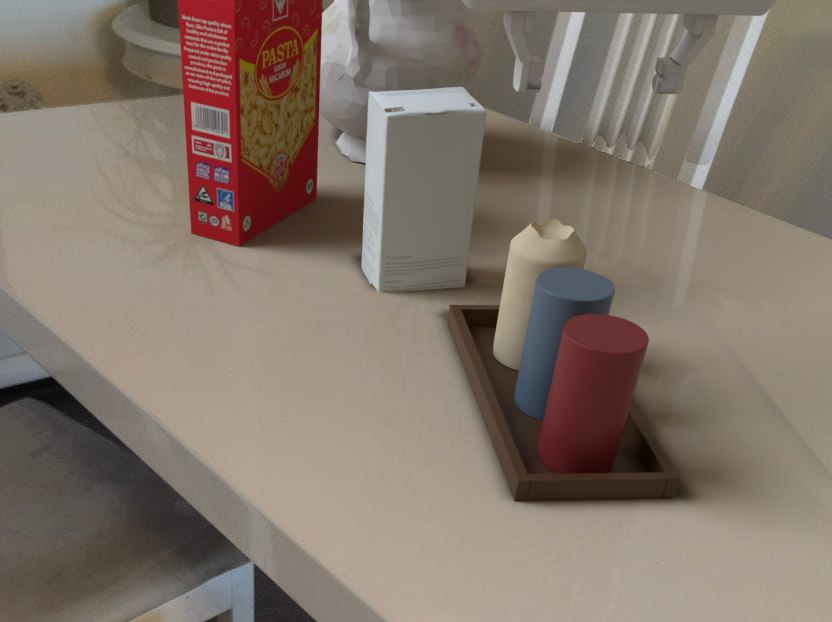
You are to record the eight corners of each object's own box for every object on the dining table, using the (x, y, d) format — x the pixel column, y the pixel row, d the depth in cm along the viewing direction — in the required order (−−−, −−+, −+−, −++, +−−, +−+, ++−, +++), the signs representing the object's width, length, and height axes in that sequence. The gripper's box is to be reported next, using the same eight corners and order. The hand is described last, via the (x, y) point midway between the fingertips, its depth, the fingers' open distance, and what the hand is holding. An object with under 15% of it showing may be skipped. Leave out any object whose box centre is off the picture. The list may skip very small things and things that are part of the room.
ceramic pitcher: (453, 206, 102) (512, -83, 85) (272, 170, 103) (295, -125, 86) (467, 143, 118) (520, -112, 101) (310, 112, 118) (336, -148, 101)
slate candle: (574, 385, 73) (602, 267, 67) (593, 422, 69) (625, 301, 63) (506, 385, 72) (528, 266, 66) (522, 422, 69) (547, 300, 62)
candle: (487, 366, 74) (509, 234, 67) (497, 334, 78) (518, 207, 71) (559, 378, 74) (589, 246, 67) (565, 346, 77) (594, 218, 70)
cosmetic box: (444, 266, 89) (467, 84, 78) (466, 295, 85) (493, 107, 74) (355, 270, 87) (366, 85, 77) (373, 300, 83) (387, 109, 72)
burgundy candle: (600, 436, 68) (633, 313, 62) (623, 479, 64) (660, 353, 58) (528, 436, 67) (554, 313, 61) (546, 480, 64) (576, 353, 57)
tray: (571, 329, 81) (576, 305, 80) (671, 505, 63) (680, 478, 62) (446, 329, 80) (449, 304, 78) (512, 508, 62) (518, 481, 61)
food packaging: (239, 246, 89) (231, -92, 72) (191, 233, 91) (172, -101, 74) (316, 198, 99) (326, -110, 82) (271, 187, 101) (271, -118, 83)
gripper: (801, -184, 57) (729, 79, 67) (460, -198, 55) (436, 75, 65) (852, -173, 53) (767, 107, 62) (483, -189, 51) (454, 104, 60)
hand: (596, 91), depth 64 cm, fingers open, 8 cm apart
